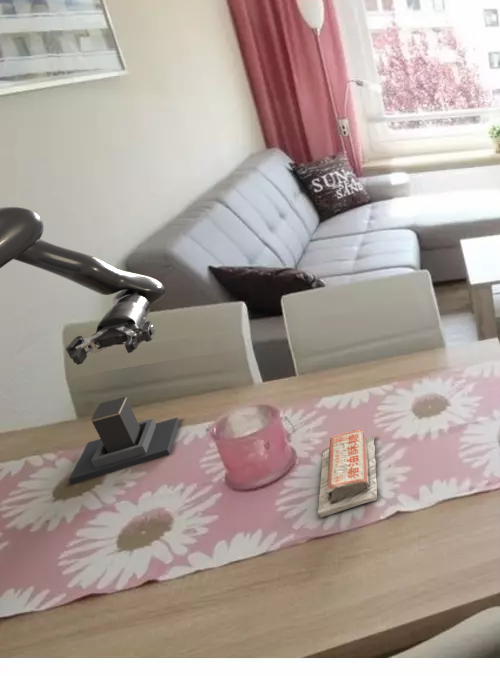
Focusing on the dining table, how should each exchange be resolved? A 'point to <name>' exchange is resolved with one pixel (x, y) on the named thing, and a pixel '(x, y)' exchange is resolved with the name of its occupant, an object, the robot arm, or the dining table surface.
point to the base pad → (126, 451)
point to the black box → (117, 425)
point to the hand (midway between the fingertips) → (103, 354)
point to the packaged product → (347, 473)
